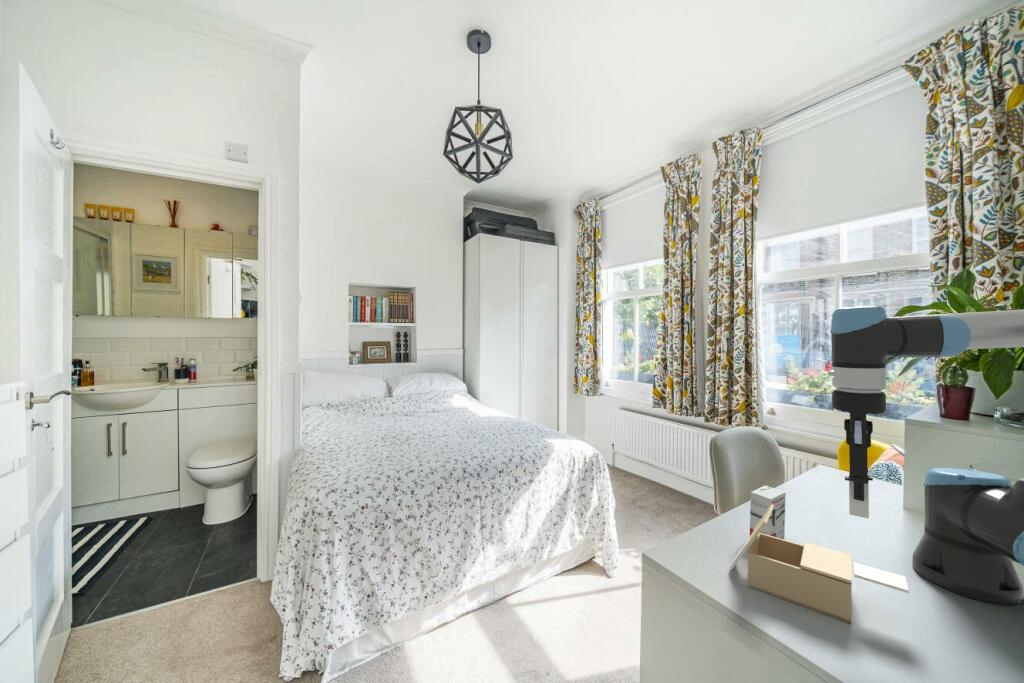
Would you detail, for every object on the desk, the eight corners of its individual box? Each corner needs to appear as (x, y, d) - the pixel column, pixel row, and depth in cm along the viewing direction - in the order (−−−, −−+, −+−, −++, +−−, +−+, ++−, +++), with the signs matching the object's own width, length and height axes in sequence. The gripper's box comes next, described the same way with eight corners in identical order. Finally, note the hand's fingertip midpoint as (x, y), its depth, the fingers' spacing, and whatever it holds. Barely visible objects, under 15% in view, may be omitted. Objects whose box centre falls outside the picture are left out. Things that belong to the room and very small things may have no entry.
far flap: (774, 505, 86) (771, 503, 86) (766, 523, 78) (763, 521, 78) (739, 553, 90) (737, 552, 91) (729, 575, 82) (726, 573, 83)
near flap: (800, 567, 74) (800, 564, 74) (804, 544, 82) (804, 542, 82) (910, 601, 65) (910, 598, 65) (903, 572, 73) (903, 569, 73)
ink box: (770, 546, 95) (770, 498, 95) (748, 537, 99) (749, 491, 99) (785, 536, 100) (786, 490, 99) (764, 528, 104) (765, 484, 103)
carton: (850, 592, 78) (851, 558, 78) (851, 624, 70) (851, 585, 69) (757, 562, 88) (757, 532, 88) (747, 586, 80) (748, 552, 80)
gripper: (833, 384, 80) (835, 498, 80) (829, 392, 70) (831, 521, 71) (884, 387, 75) (885, 508, 75) (887, 396, 65) (888, 535, 66)
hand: (859, 515), depth 73 cm, fingers closed
